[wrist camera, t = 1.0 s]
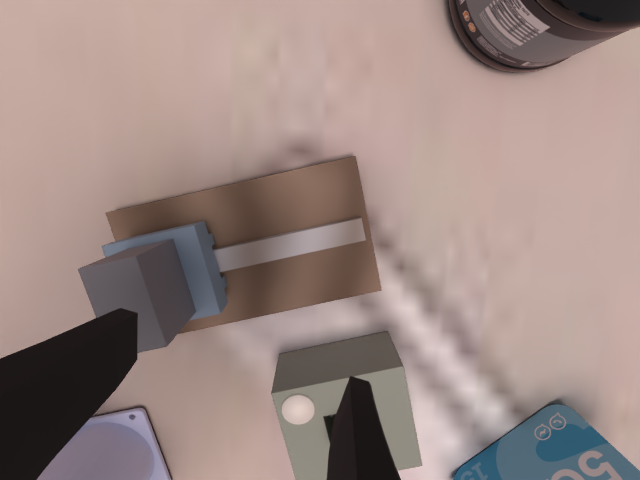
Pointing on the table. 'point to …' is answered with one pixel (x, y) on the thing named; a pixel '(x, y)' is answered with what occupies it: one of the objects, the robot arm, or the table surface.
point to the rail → (274, 238)
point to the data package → (550, 452)
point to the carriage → (158, 281)
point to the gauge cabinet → (326, 394)
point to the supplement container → (538, 29)
